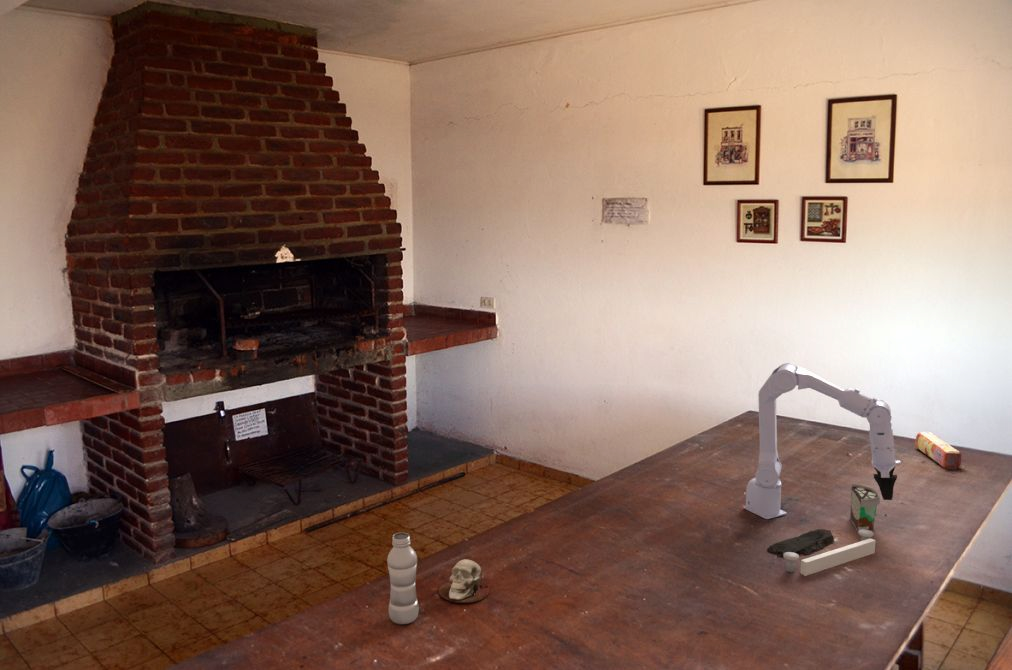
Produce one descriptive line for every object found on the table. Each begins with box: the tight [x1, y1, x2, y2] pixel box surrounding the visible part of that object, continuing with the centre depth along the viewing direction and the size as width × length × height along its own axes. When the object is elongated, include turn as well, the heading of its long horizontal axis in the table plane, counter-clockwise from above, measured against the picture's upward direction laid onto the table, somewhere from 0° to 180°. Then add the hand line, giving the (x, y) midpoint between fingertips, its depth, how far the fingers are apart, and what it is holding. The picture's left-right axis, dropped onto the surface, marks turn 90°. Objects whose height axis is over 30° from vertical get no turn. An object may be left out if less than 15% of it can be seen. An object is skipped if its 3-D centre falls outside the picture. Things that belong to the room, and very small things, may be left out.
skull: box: [438, 559, 489, 604], centre depth 186 cm, size 12×10×10 cm
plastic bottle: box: [386, 532, 420, 625], centre depth 173 cm, size 6×7×20 cm
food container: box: [849, 483, 881, 533], centre depth 218 cm, size 12×6×10 cm, turn 168°
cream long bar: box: [783, 529, 877, 577], centre depth 199 cm, size 6×31×4 cm, turn 117°
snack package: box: [914, 431, 963, 470], centre depth 271 cm, size 21×7×7 cm, turn 176°
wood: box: [766, 528, 835, 558], centre depth 207 cm, size 22×7×3 cm, turn 118°
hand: (887, 494), depth 214 cm, fingers open, 7 cm apart
